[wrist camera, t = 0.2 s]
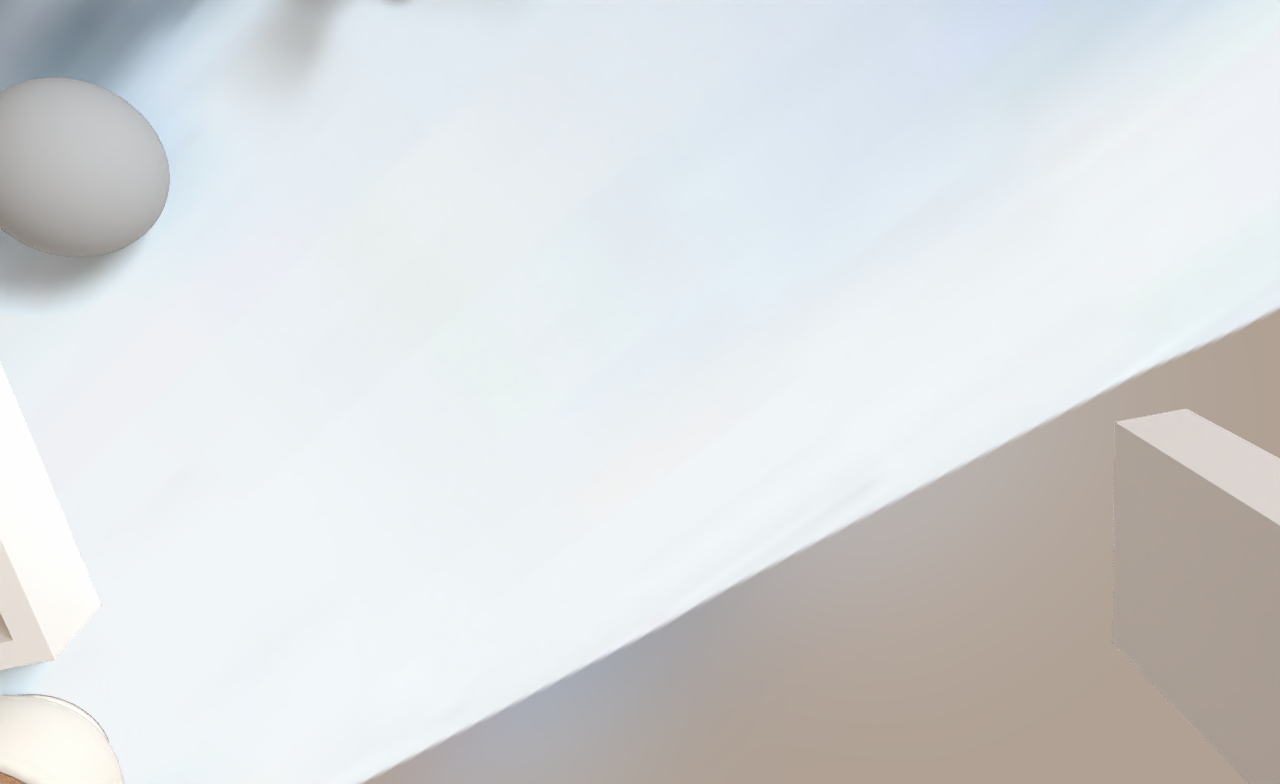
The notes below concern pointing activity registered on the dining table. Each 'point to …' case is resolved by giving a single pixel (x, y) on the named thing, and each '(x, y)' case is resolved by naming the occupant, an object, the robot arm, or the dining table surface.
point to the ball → (77, 168)
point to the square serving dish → (35, 552)
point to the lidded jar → (53, 744)
